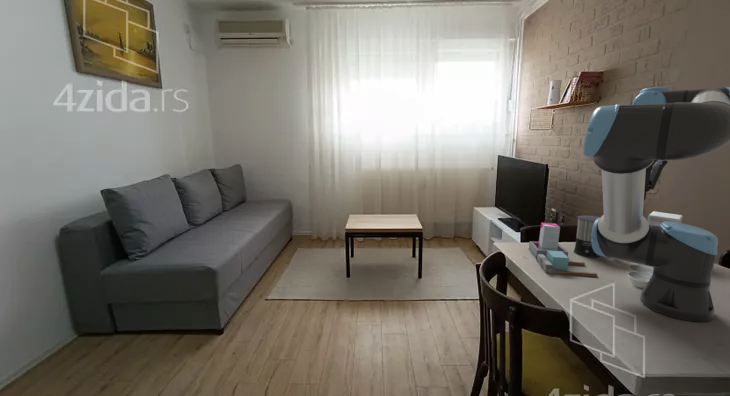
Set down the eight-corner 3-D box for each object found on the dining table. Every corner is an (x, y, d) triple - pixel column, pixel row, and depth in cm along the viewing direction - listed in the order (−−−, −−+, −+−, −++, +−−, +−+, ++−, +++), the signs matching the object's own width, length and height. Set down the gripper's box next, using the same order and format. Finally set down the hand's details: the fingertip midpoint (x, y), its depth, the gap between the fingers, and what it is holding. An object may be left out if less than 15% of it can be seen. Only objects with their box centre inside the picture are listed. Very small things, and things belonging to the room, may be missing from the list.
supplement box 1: (557, 255, 133) (560, 227, 131) (540, 254, 135) (543, 225, 133) (553, 250, 139) (556, 223, 137) (537, 249, 140) (540, 222, 138)
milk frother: (576, 256, 136) (581, 219, 133) (566, 243, 151) (570, 210, 148) (618, 260, 132) (624, 222, 129) (604, 247, 146) (609, 213, 143)
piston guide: (597, 277, 116) (598, 268, 115) (545, 273, 119) (546, 264, 119) (583, 264, 127) (584, 257, 126) (536, 261, 130) (537, 253, 129)
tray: (567, 260, 130) (568, 252, 130) (536, 258, 132) (536, 250, 132) (557, 251, 141) (558, 243, 140) (528, 249, 143) (529, 241, 142)
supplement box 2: (646, 250, 142) (652, 210, 139) (675, 256, 136) (683, 214, 133) (641, 255, 136) (648, 214, 133) (672, 262, 129) (680, 218, 126)
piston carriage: (567, 271, 120) (568, 258, 119) (551, 270, 120) (553, 257, 120) (560, 264, 126) (561, 251, 125) (545, 263, 127) (546, 250, 126)
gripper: (632, 138, 107) (621, 211, 112) (678, 138, 106) (665, 213, 110) (618, 137, 115) (608, 206, 119) (661, 138, 113) (649, 208, 118)
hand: (636, 209), depth 115 cm, fingers closed
